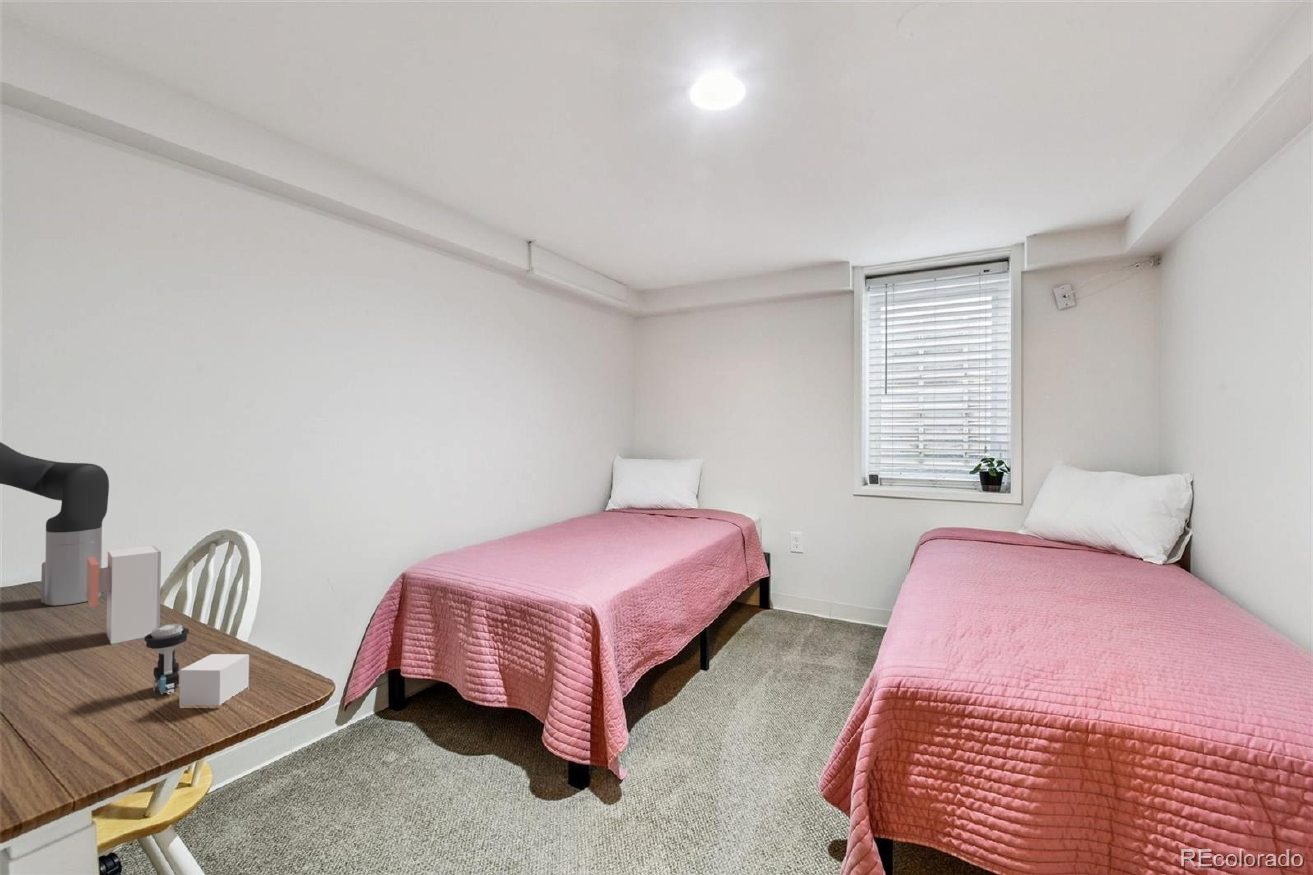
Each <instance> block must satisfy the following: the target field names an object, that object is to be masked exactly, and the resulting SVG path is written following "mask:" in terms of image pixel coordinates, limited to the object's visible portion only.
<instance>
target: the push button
mask: <svg viewBox="0 0 1313 875" xmlns="http://www.w3.org/2000/svg"><path fill="white" fill-rule="evenodd" d="M189 632H190V629H189V628H186V627H183V625H182V624H180V623H169V624H164V625H160V626H159V627H156V628H154V629H153V630H152V633H151V634H148V635H147V636H145V637H144V638H143V640H144V642H145V645H146V646H145V647H146V648H149V649H152V650H154V651H159V653H158V660H157V666H156V667H154V668H153V677H154V679H155V680H153V682H152V683H153V684H152V685H153V686H152V687H153V688H152V690H154V691H155V692H156V687H157V686H158V687H159V689H160V691H161V693H166V692H167V695H171V694H174V693H175V692H174V690H175V691H176V687H177V686H178V685H179V686H180V673H179V672H180V663H179V662H176V658H175V656H176V650H174V649H175V648H176V647H178V646H181V644H182V643H184V642H186V641H187V640H188V635H189ZM158 687H157V688H158ZM159 689H158V690H159ZM154 691H153V692H154ZM160 691H159V692H160ZM169 692H171V693H169Z"/></svg>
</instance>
